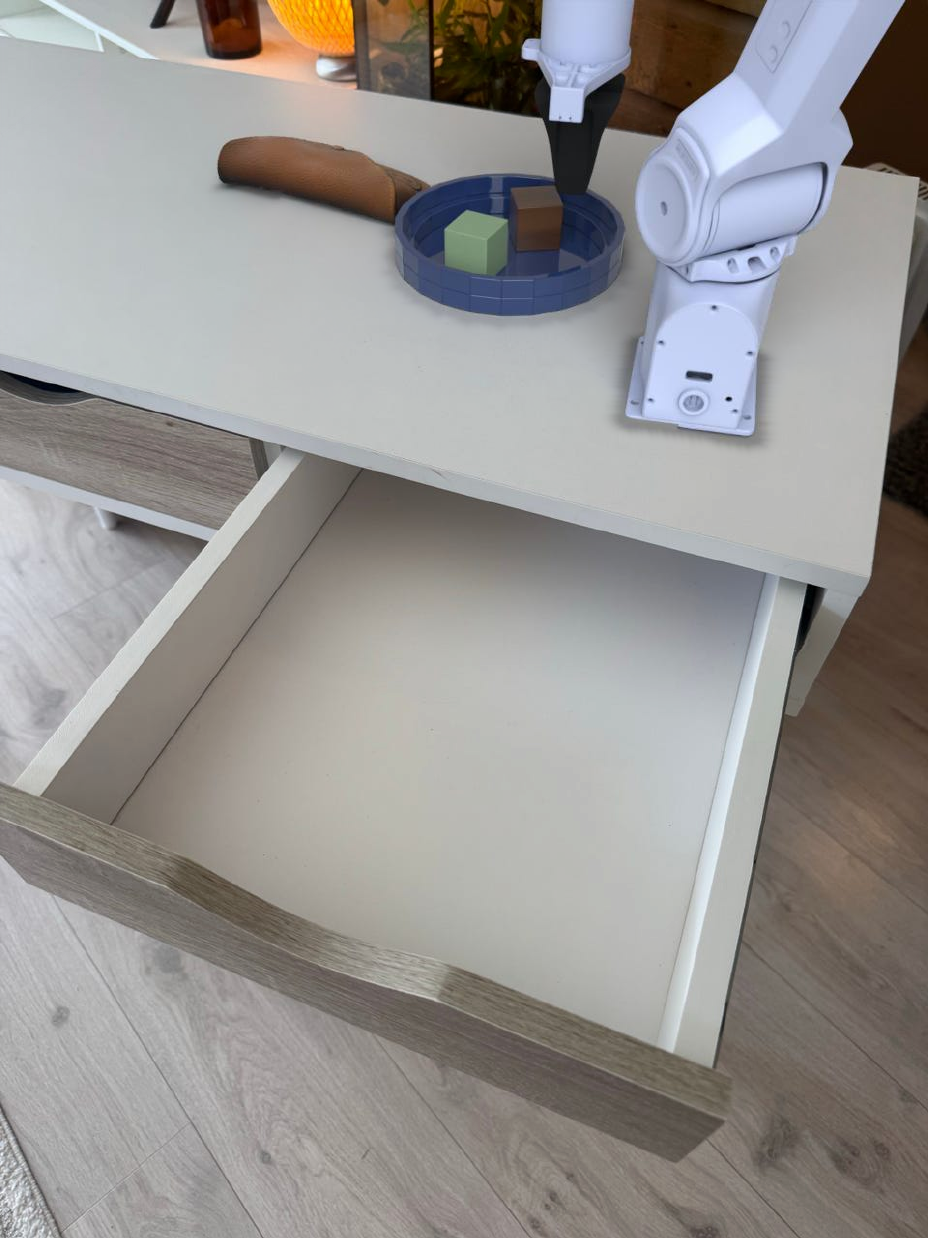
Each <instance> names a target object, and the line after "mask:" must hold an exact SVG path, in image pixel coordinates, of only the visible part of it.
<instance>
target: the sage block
mask: <svg viewBox="0 0 928 1238" xmlns="http://www.w3.org/2000/svg"><path fill="white" fill-rule="evenodd" d="M444 232H445V266H448V267H452V268H456V269H459V270H463V271H467V272H471V273H476V274H485V275H494V276H495V275H496V274H497V273H498V272H499V271H500V270H501V269H502V268H504V267H505V266H506V264H507V239H508V220H507V219H502V218H498V217H494V216H490V215H486V214H482V213H477V212H473V211H469V210H466V211H465V212H464V213H462V214H461V215H460V216H459V217H458V218H457V219H456V220H454V221H453V222H452V223H451V224H450V225H449V226H447V227H446V228H445V230H444Z"/></svg>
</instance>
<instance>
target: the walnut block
mask: <svg viewBox="0 0 928 1238" xmlns="http://www.w3.org/2000/svg"><path fill="white" fill-rule="evenodd" d="M562 216H563V204H562V201H561V199H560V197H559V195H558V193H557V191H556V188H555V186H537V187H519V188H511V190H510V217H509V233H510V236H511V238H512V241H513V244H514V247H515V250H516V252H525V251H541V250H557V249H560V241H561V229H562Z"/></svg>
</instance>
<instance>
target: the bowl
mask: <svg viewBox="0 0 928 1238" xmlns="http://www.w3.org/2000/svg"><path fill="white" fill-rule="evenodd" d="M537 186H555V182H554V177H550V176H545V175H538V174H527V173H515V172H513V173H512V172H511V173H509V172H508V173H507V172H506V173H483V174H476V175H469V176H460V177H457V178H453V179H449V180H446V181H443V182H438V183H436V184H434V185H431V187H430V188H428V189H425V190H423V191H421V192H419V193H417V194H416V195H414V196H413V197H412V198H411V199H409V200H408V201H407V202H406V203H404V204H403V206H402V207H401V209H400V211H399V212H398V214H397V216H396V218H395V222H394V241H395V258H396V267H397V269H398V270H399V272H400V274H401V276H402V278H403V280H404V281H405V282H406V283H407V284H408V285H410V286H411V287H412V288H413V289H414V290H415V291H417V292H418V293H419V294H421V295H423V296H425V297H426V298H429V299H430V300H433V301H435V302H437V303H440V304H441V305H444V306H448V307H451V308H455V309H459V310H462V311H466V312H471V313H478V314H487V315H493V316H494V315H496V316H501V317H504V316H533V315H538V314H539V315H540V314H544V313H551V312H557V311H562V310H566V309H569V308H572V307H575V306H577V305H580V304H583V303H587V302H588V301H590V300H591V299H593V298H595V297H597V296H598V295H600V294H602V293H603V292H605V291H606V290H607V289H608V288H609V286H611V284H612V283H613V282H614V281H615V280H616V278H617V277H618V275H619V272H620V267H621V263H622V258H623V250H624V249H623V248H624V242H625V235H626V234H625V233H626V225H625V222H624V219H623V217H622V214H621V212H620V211H619V210H618V209H617V208H616V207H615V205H613V203H612V202H611V201H610V200H608V199H607V198H605V197H603V196H602V195H600V194H599V193H597V192H595V191H593V190H592V189H589V188H587V190H586V193H585V195H583V196H581V195H571V194H561V193H558V195H559V197H560V199H561V201H562V204H563V216H562V229H561V241H560V249H557V250H541V251H525V252H516V250H515V247H514V244H513V241H512V238H511V236H510V233H509V217H510V190H511V188H519V187H537ZM555 188H556V187H555ZM466 210H469V211H473V212H477V213H482V214H486V215H490V216H494V217H498V218H502V219H507V220H508V239H507V264H506V266H505V267H504V268H502V269H501V270H500V271H499V272H498V273H497V274H496V275H495V276H494V275H485V274H476V273H471V272H467V271H463V270H459V269H456V268H452V267H448V266H445V232H444V230H445V228H446V227H447V226H449V225H450V224H451V223H452V222H453V221H454V220H456V219H457V218H458V217H459V216H460V215H461V214H462V213H464V212H465V211H466Z"/></svg>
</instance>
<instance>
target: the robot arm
mask: <svg viewBox="0 0 928 1238" xmlns="http://www.w3.org/2000/svg"><path fill="white" fill-rule="evenodd" d="M905 2H906V0H766V2H765V4H764V7H762V8H763V9H762V10H761V12H760V14H759V16H758V19H757V21H756V23H755V25H754V27H753V29H752V32H751V34H750V36H749V38H748V40H747V42H746V44H745V46H744V48H743V50H742V52H741V54H740V57H739V59H738V61H737V63H736V65H735V67H734V69H733V71H732V72H731V73H730V74H729V75H727V76H726V77H725V78H724V79H723V80H721V81H720V82H719V83H718V84H717V85H715V86H714V87H712V88H711V89H710V90H708V91H706V92H705V93H704V94H703V95H702V96H700V97H699V98H698V99H696V100H695V101H694V102H693V103H691V104H690V105H689V106H688V107H686V108H685V109H684V110H682V111H681V112H680V113H679V114H678V115H677V117H676V119H675V121H674V124H673V126H672V128H671V130H670V132H669V134H668V135H667V137H666V139H665V140H664V141H663V142H661V144H660V145H658V146H657V147H655V148H654V149H653V150H651V152H649V154H648V155H647V156H646V158H645V160H644V162H643V164H642V166H641V169H640V171H639V175H638V178H637V182H636V186H635V192H634V211H635V218H636V223H637V227H638V230H639V234H640V236H641V238H642V240H643V242H644V244H645V245H646V247H647V248H648V250H649V252H651V254H652V256H654V258H656V262H655V267H654V268H655V270H654V274H653V280H652V288H651V293H650V301H649V305H648V312H647V318H646V324H645V330H644V335H641V336H639V338H638V340H637V346H636V350H635V354H634V355H635V356H634V361H633V367H632V371H631V377H630V383H629V388H628V393H627V398H626V404H625V409H624V415H625V416H626V417H628V418H631V419H637V420H645V421H652V422H661V423H667V424H673V425H677V428H682V429H691V430H698V431H704V432H713V433H720V434H728V435H736V436H742V437H749V436H752V435H753V434H754V431H755V426H756V395H757V394H756V393H757V371H758V370H757V369H758V368H757V367H758V355H759V350H760V347H761V344H762V340H763V336H764V332H765V328H766V324H767V321H768V317H769V314H770V310H771V305H772V302H773V298H774V294H775V290H776V287H777V283H778V279H779V276H780V272H781V268H782V264H783V262H784V260H785V259H786V258H788V257H790V256H793V255H794V253H795V249H796V247H797V243H798V238H799V236H800V235H803V234H806V233H808V232H810V231H811V230H813V229H814V228H815V227H816V226H817V225H818V224H819V223H820V221H821V220H822V219H823V217H824V216H825V215H826V212H827V210H828V208H829V205H830V204H831V200H832V197H833V193H834V192H833V191H834V188H835V182H836V178H837V175H838V172H839V169H840V167H841V165H842V164H843V161H844V160H845V159H846V156H847V155H848V154H849V152H850V150H851V149H852V147H853V145H854V141H853V138H852V134H851V132H850V128H849V125H848V121H847V119H846V117H845V115H844V113H843V112H842V110H841V105H842V104H843V102H844V100H845V99H846V98H847V96H848V94H849V92H850V91H851V89H852V88H853V86H854V84H855V83H856V81H857V79H858V78H859V76H860V74H861V73H862V72H863V70H864V68H865V67H866V66H867V64H868V62H869V60H870V58H871V57H872V55H873V53H874V52H875V50H876V48H877V47H878V46H879V44H880V42H881V41H882V39H883V37H884V36H885V34H886V32H887V31H888V29H889V28H890V26H891V24H892V23H893V21H894V19H895V18H896V16H897V14H898V13H899V11H900V10H901V8H902V6H903V5H904V3H905ZM634 7H635V0H542V9H541V10H542V11H541V24H540V25H541V27H540V28H541V29H540V38H527V39H525V41H524V42H523V44H522V46H521V58H522V59H523V60H526V61H534V62H536V63H537V64H538V66H539V68H540V70H541V72H542V73H543V75H542V78H541V80H539V81H538V83H537V85H536V87H535V88H534V100H535V101H534V102H535V107H536V108H537V110H538V112H539V114H540V117H541V119H542V122H543V124H544V127H545V130H546V134H547V138H548V144H549V150H550V157H551V165H552V173H553V178H554V182H555V187H556V191H557V193H561V194H571V195H581V196H583V195H585V193H586V190H587V189H589V188H588V187H589V185H590V181H591V179H592V176H593V172H594V169H595V165H596V162H597V157H598V152H599V149H600V145H601V142H602V138H603V135H604V132H605V130H606V128H607V126H608V124H609V122H610V120H611V118H612V117H613V115H614V113H615V112H616V111H617V109H618V106H619V105H620V103H621V99H622V96H623V92H624V89H625V86H626V81H627V76H626V75H625V74H624V73H622V72H624V71H625V70H626V69H627V68H628V67H629V66H630V64H631V59H632V58H631V57H632V47H631V45H630V40H631V33H632V32H631V31H632V23H633V15H634ZM635 403H637V404H635Z"/></svg>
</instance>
